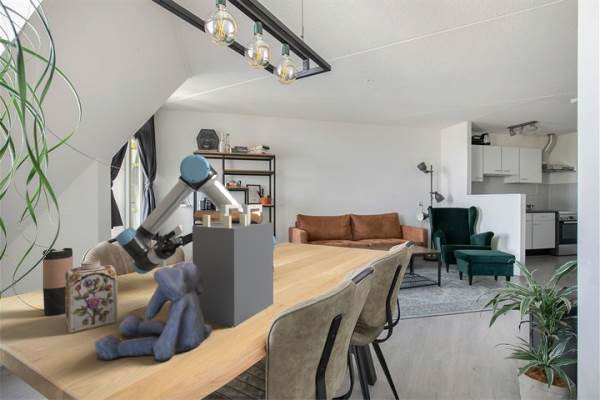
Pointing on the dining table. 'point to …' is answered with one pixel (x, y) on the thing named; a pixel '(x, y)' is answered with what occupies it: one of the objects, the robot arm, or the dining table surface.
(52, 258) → the travel mug
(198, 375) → the dining table surface
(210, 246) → the grey pedestal with pegs
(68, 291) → the decorative jar
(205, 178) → the robot arm
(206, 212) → the copper tube
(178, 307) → the elephant
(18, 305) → the dining table surface
